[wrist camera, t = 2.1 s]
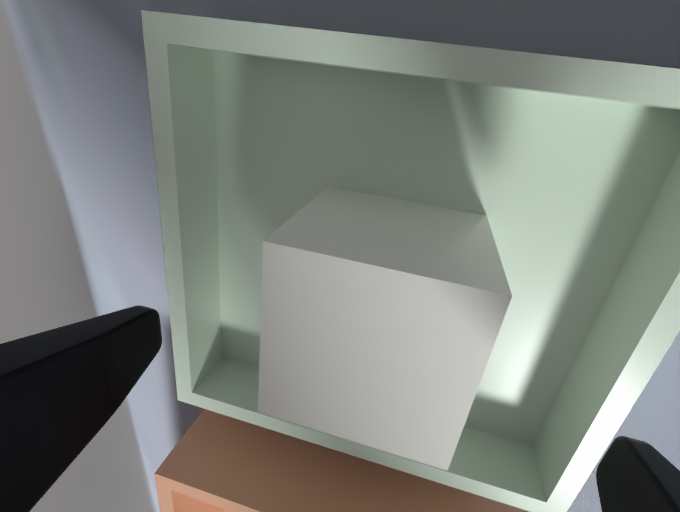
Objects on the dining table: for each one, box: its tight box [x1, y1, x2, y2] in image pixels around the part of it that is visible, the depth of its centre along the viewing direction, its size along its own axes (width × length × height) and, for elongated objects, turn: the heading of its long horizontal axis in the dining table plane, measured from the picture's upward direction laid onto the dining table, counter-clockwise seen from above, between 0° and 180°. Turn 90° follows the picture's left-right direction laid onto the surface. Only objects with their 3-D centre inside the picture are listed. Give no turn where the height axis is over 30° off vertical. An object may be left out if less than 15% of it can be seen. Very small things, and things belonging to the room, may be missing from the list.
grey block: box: [258, 186, 512, 471], centre depth 10 cm, size 4×4×4 cm
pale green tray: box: [141, 10, 680, 512], centre depth 11 cm, size 13×12×2 cm
